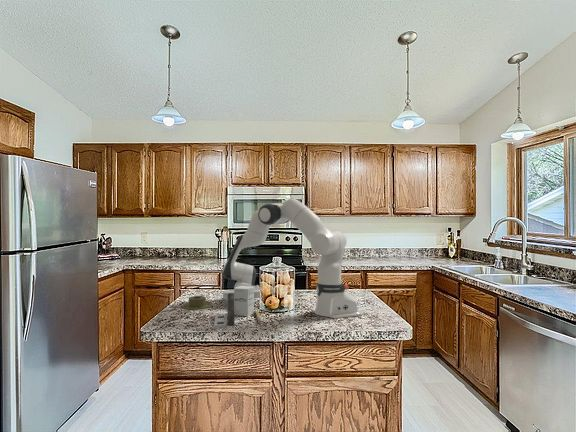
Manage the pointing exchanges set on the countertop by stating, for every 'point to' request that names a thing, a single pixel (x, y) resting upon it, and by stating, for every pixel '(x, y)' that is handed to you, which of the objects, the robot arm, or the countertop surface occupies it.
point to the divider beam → (231, 310)
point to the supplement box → (243, 300)
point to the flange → (197, 303)
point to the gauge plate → (220, 321)
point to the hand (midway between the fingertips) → (243, 297)
